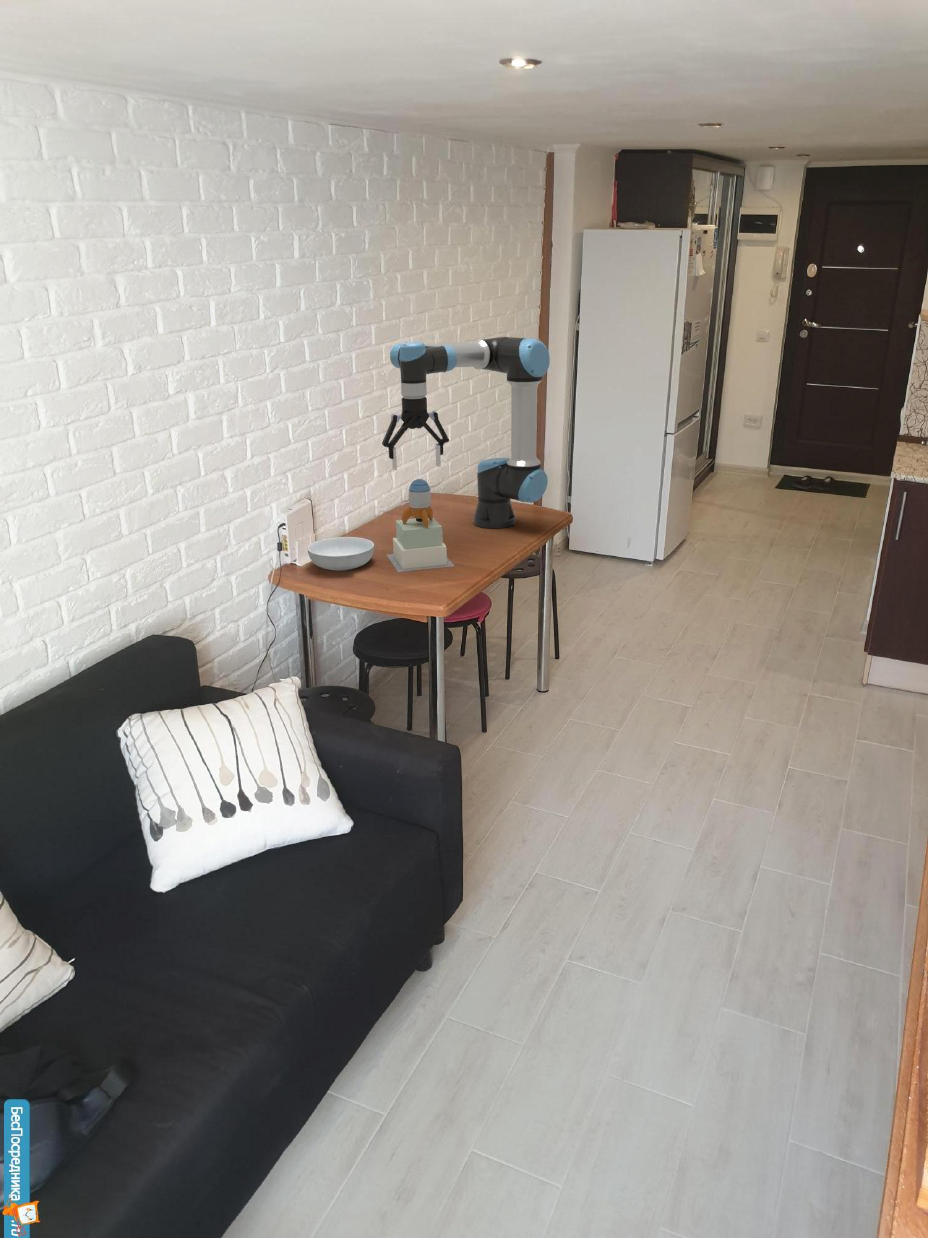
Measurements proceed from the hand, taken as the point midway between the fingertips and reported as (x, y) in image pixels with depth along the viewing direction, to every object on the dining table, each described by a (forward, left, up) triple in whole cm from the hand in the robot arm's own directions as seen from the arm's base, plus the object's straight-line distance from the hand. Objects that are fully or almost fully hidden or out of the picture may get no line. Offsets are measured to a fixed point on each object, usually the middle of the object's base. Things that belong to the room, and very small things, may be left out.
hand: (416, 467), depth 289 cm
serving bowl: (+24, -5, -31) cm, 40 cm away
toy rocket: (+1, 0, -18) cm, 18 cm away
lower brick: (0, 0, -30) cm, 30 cm away
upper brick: (0, 0, -24) cm, 24 cm away
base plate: (0, 0, -31) cm, 31 cm away
